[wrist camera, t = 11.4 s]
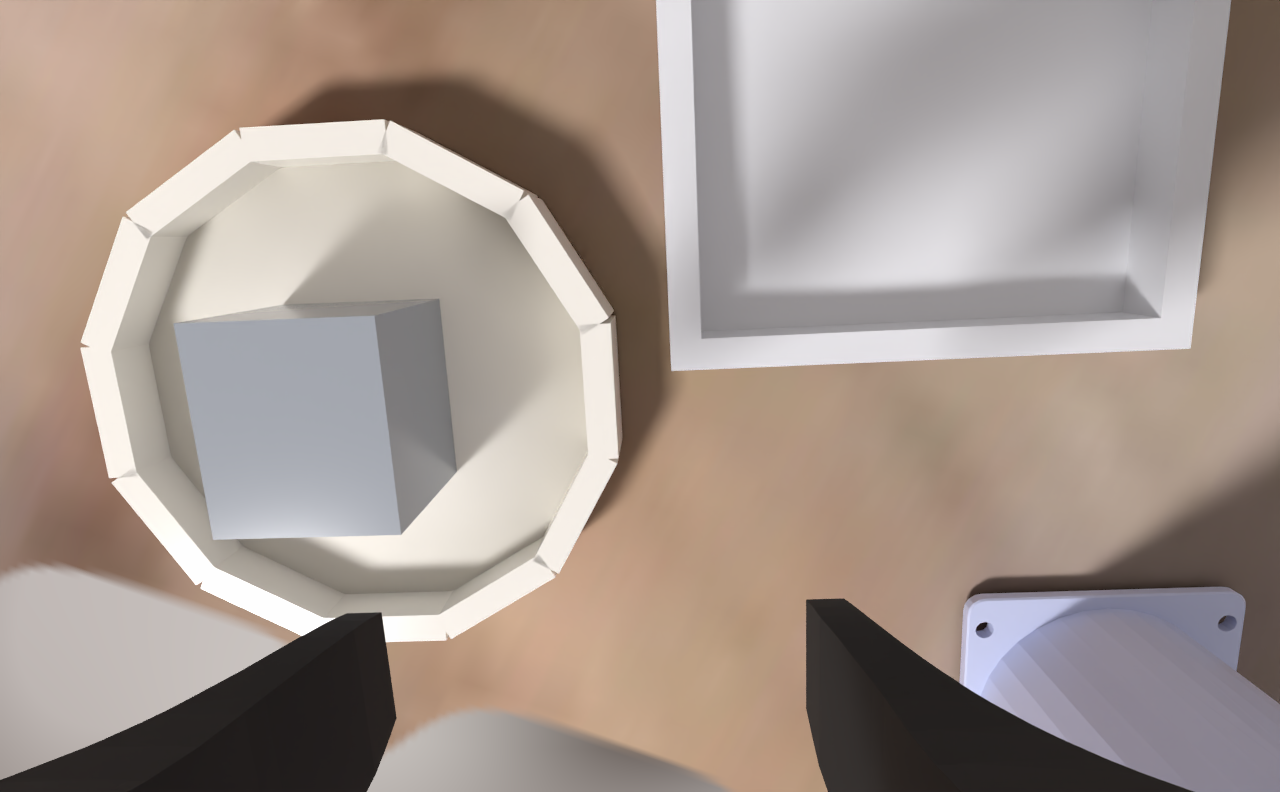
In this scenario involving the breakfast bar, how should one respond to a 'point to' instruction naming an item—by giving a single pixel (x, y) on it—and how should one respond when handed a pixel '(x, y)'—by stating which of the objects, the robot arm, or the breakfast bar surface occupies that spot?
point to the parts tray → (934, 176)
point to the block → (319, 417)
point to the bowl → (356, 272)
